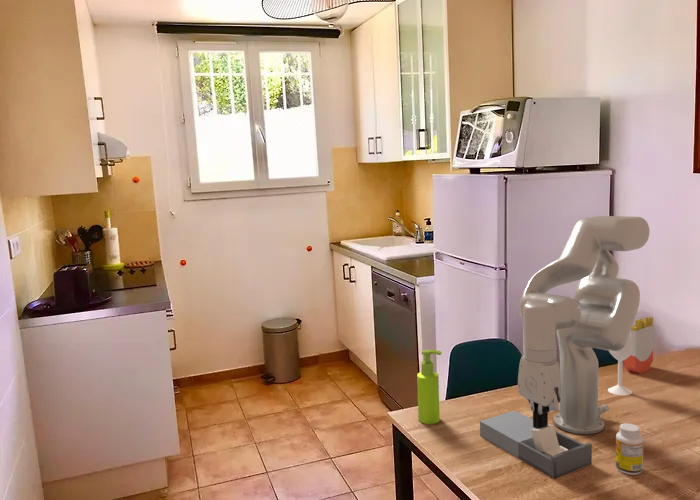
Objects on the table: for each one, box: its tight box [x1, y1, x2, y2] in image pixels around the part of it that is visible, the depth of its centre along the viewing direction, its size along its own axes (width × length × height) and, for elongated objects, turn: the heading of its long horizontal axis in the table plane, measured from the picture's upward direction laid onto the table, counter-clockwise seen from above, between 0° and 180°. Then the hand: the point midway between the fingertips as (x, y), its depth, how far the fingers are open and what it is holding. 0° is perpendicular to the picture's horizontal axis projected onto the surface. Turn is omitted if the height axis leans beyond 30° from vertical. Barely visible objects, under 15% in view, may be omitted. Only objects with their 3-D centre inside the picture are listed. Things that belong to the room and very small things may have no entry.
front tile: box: [545, 446, 568, 458], centre depth 132 cm, size 5×5×2 cm
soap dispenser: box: [416, 349, 443, 425], centre depth 159 cm, size 6×7×20 cm
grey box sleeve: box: [479, 410, 536, 459], centre depth 146 cm, size 12×14×4 cm
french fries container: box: [622, 316, 655, 374], centre depth 189 cm, size 5×11×18 cm, turn 124°
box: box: [518, 429, 593, 480], centre depth 134 cm, size 12×11×5 cm
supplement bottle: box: [615, 422, 644, 476], centre depth 129 cm, size 6×6×10 cm
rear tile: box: [531, 424, 559, 452], centre depth 136 cm, size 5×5×2 cm
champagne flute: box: [607, 331, 633, 396], centre depth 172 cm, size 7×7×24 cm
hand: (540, 427), depth 137 cm, fingers closed
